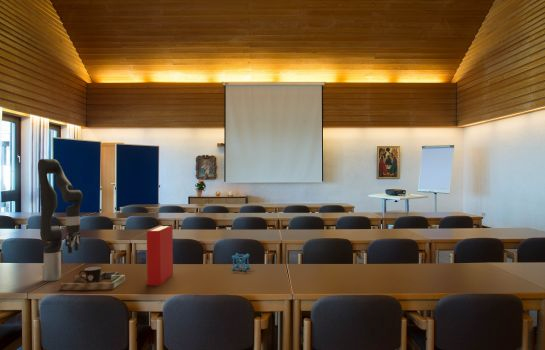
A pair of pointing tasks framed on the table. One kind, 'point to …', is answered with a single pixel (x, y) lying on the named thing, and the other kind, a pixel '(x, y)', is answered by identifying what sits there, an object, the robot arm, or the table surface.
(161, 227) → the book
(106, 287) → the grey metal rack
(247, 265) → the molecular structure
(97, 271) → the coffee mug
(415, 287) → the table surface
